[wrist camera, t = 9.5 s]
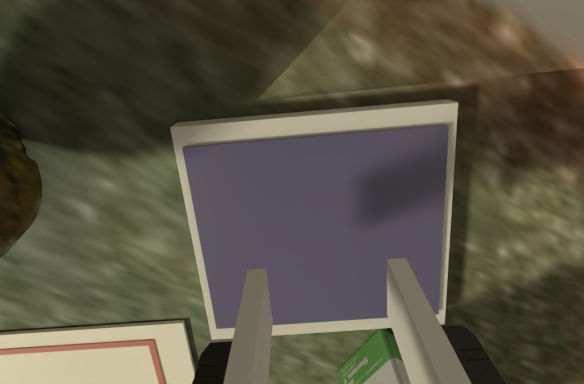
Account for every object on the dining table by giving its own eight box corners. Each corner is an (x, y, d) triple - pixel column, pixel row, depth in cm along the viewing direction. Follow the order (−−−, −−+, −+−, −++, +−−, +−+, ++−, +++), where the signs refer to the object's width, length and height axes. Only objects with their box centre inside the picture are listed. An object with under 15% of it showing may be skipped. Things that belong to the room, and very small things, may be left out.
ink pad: (178, 122, 20) (168, 128, 19) (447, 99, 20) (460, 103, 18) (216, 324, 25) (210, 342, 23) (436, 309, 24) (446, 327, 23)
